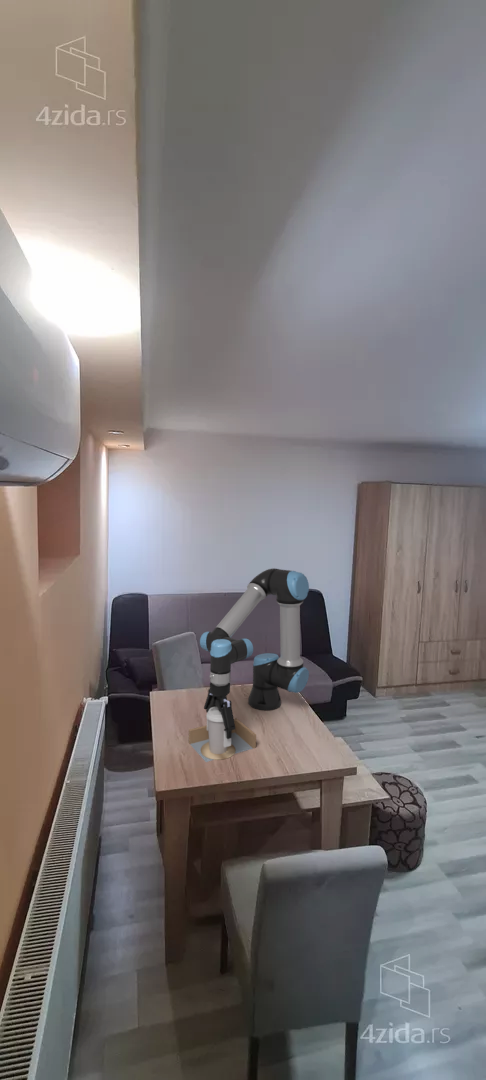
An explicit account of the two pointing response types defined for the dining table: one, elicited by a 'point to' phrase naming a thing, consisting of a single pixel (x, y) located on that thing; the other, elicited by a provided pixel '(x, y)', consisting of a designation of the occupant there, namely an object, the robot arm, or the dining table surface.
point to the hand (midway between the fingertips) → (218, 737)
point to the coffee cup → (216, 731)
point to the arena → (239, 738)
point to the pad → (210, 755)
